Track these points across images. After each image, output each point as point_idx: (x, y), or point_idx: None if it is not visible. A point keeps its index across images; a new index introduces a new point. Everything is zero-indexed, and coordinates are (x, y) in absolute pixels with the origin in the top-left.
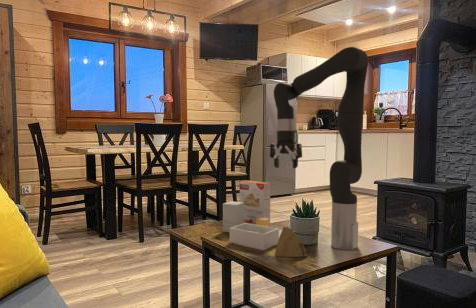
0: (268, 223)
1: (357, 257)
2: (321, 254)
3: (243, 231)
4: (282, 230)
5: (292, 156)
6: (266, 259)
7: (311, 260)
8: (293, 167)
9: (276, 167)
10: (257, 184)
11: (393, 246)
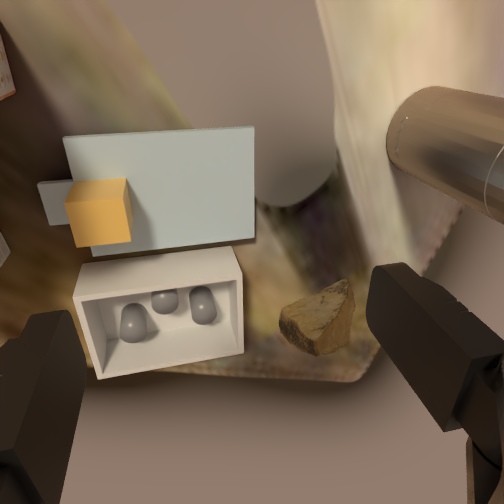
0: (126, 200)
1: (464, 205)
2: (377, 245)
3: (161, 365)
4: (311, 353)
5: (477, 496)
6: (276, 356)
7: (366, 297)
8: (375, 325)
9: (82, 366)
10: None
11: None
